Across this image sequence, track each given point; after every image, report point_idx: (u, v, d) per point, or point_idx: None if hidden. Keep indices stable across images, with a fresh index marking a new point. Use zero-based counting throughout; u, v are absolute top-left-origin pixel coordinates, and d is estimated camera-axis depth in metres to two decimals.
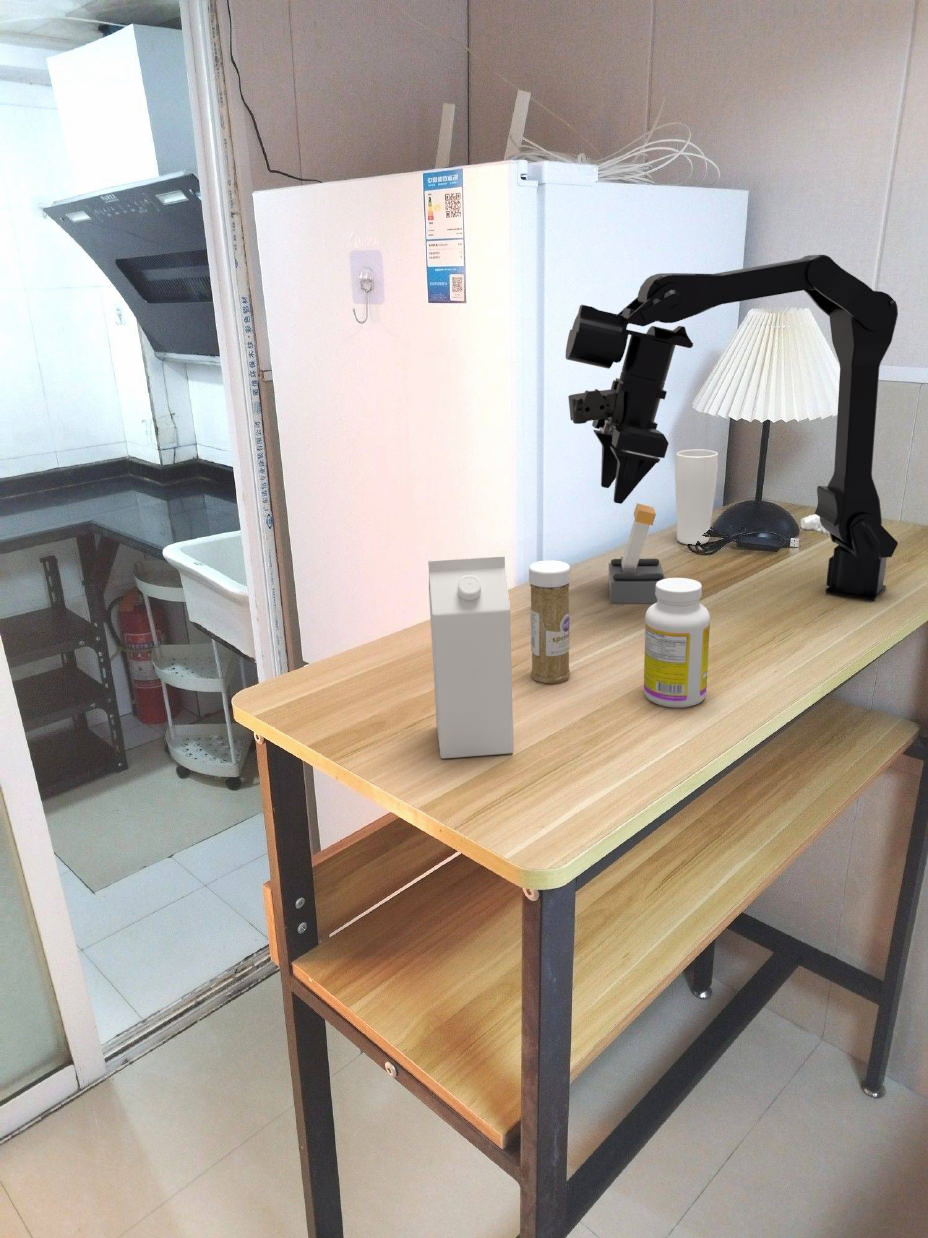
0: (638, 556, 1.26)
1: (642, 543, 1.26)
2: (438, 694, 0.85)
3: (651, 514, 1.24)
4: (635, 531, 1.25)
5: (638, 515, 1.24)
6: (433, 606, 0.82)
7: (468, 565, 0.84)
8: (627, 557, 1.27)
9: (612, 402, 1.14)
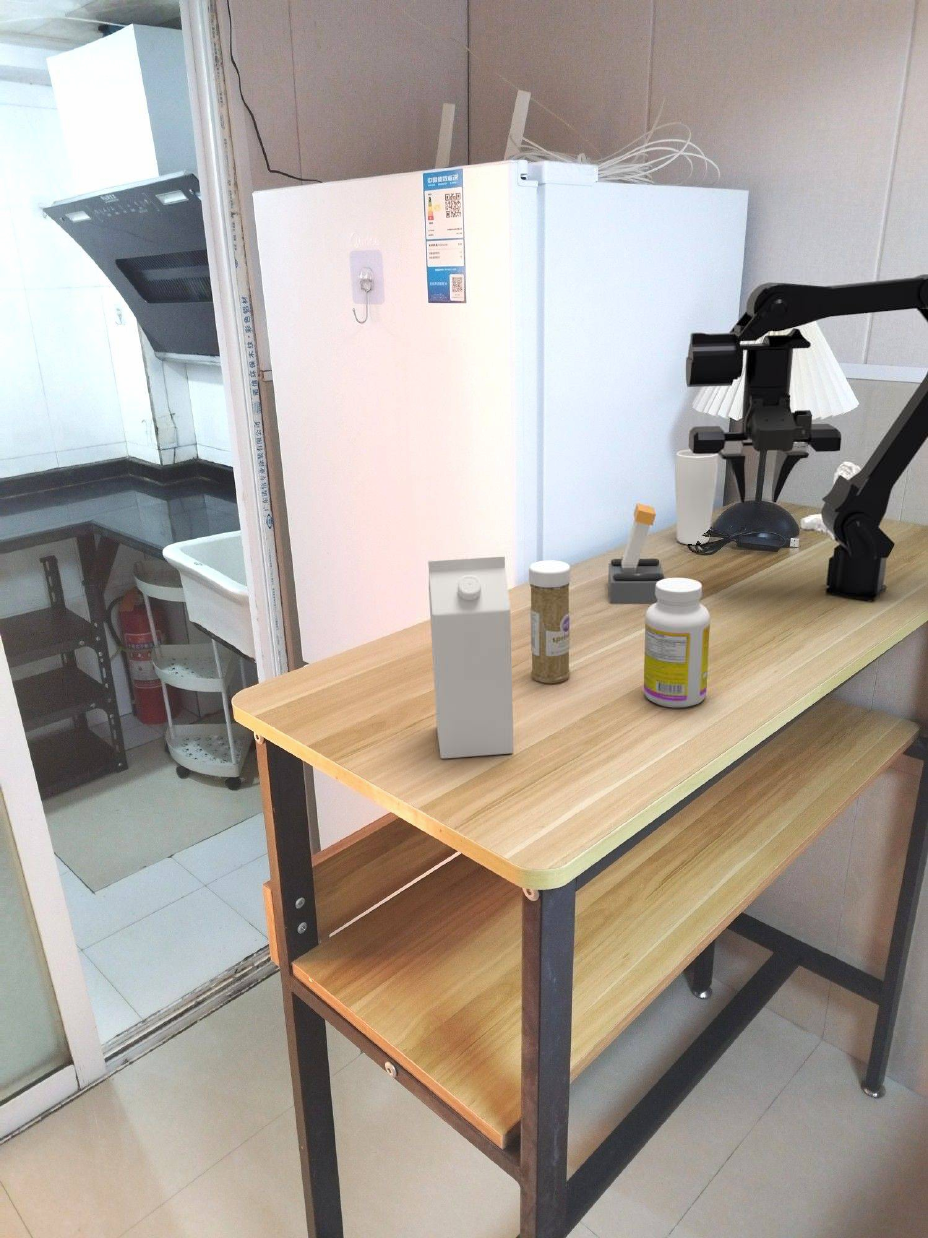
0: (638, 556, 1.26)
1: (642, 543, 1.26)
2: (438, 694, 0.85)
3: (651, 514, 1.24)
4: (635, 531, 1.25)
5: (638, 515, 1.24)
6: (433, 606, 0.82)
7: (468, 565, 0.84)
8: (627, 557, 1.27)
9: None
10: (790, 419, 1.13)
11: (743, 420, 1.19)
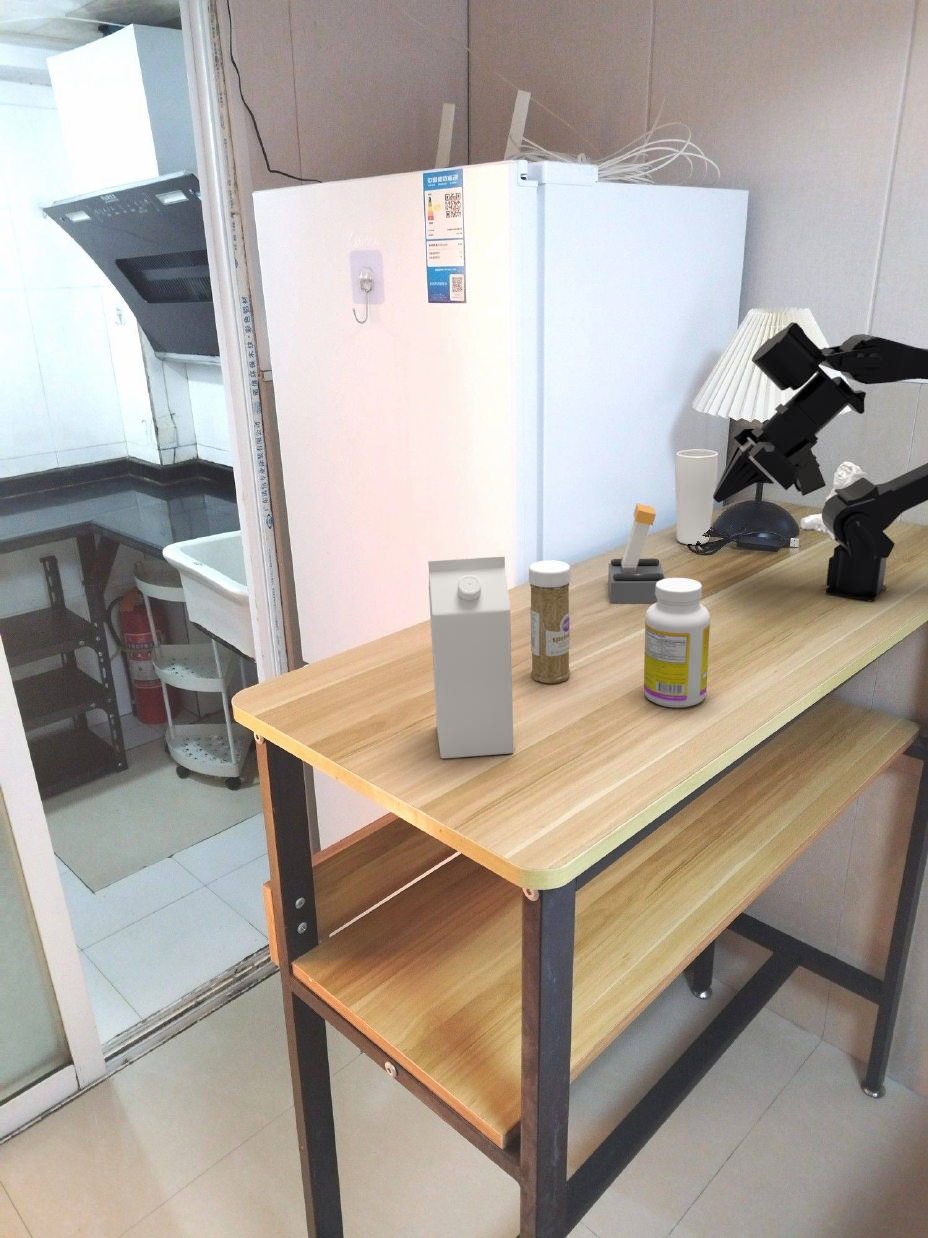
0: (638, 556, 1.26)
1: (642, 543, 1.26)
2: (438, 694, 0.85)
3: (651, 514, 1.24)
4: (635, 531, 1.25)
5: (638, 515, 1.24)
6: (433, 606, 0.82)
7: (468, 565, 0.84)
8: (627, 557, 1.27)
9: None
10: None
11: (786, 446, 1.18)
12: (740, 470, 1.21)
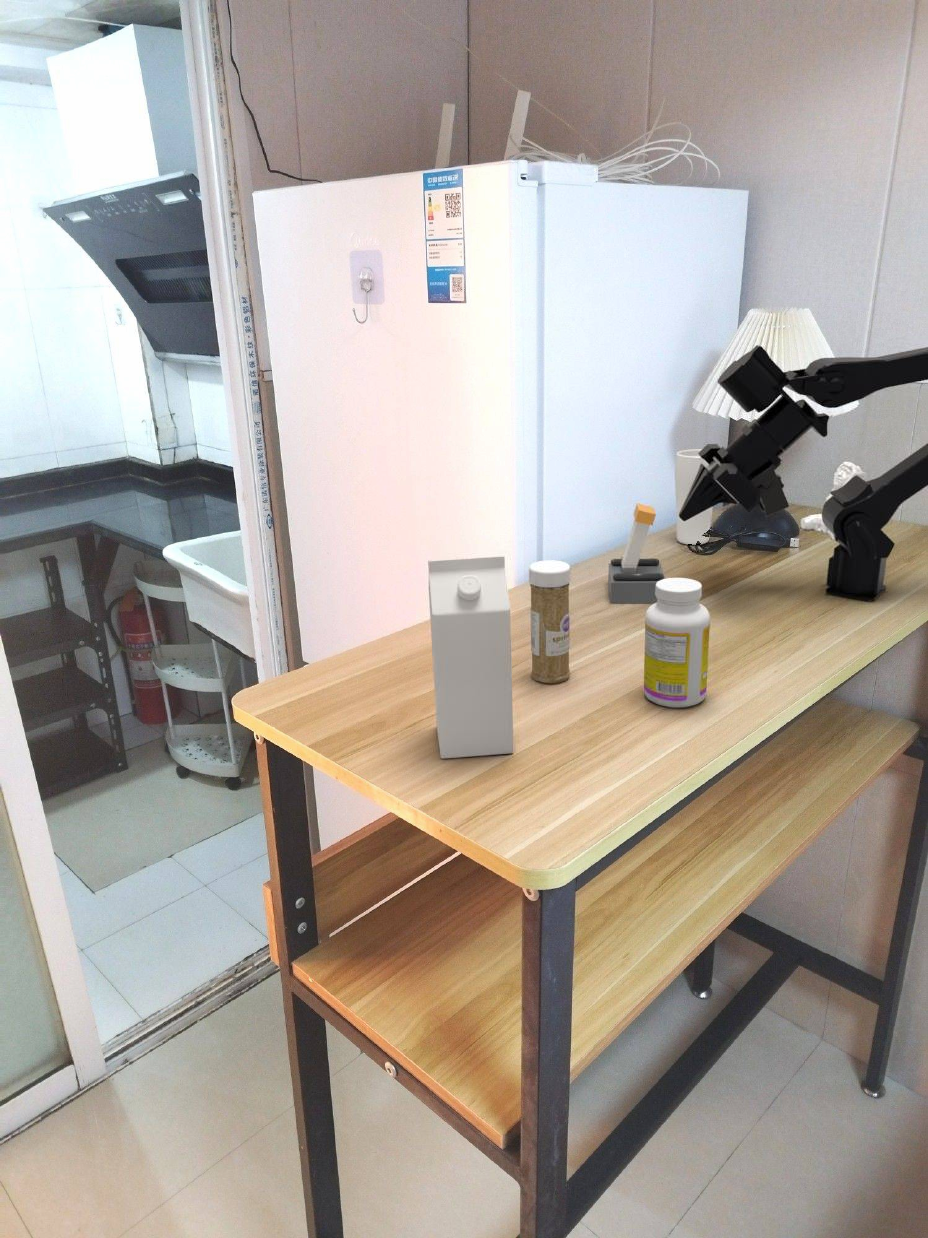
0: (638, 556, 1.26)
1: (642, 543, 1.26)
2: (438, 694, 0.85)
3: (651, 514, 1.24)
4: (635, 531, 1.25)
5: (638, 515, 1.24)
6: (433, 606, 0.82)
7: (468, 565, 0.84)
8: (627, 557, 1.27)
9: None
10: None
11: (750, 467, 1.19)
12: (705, 490, 1.22)
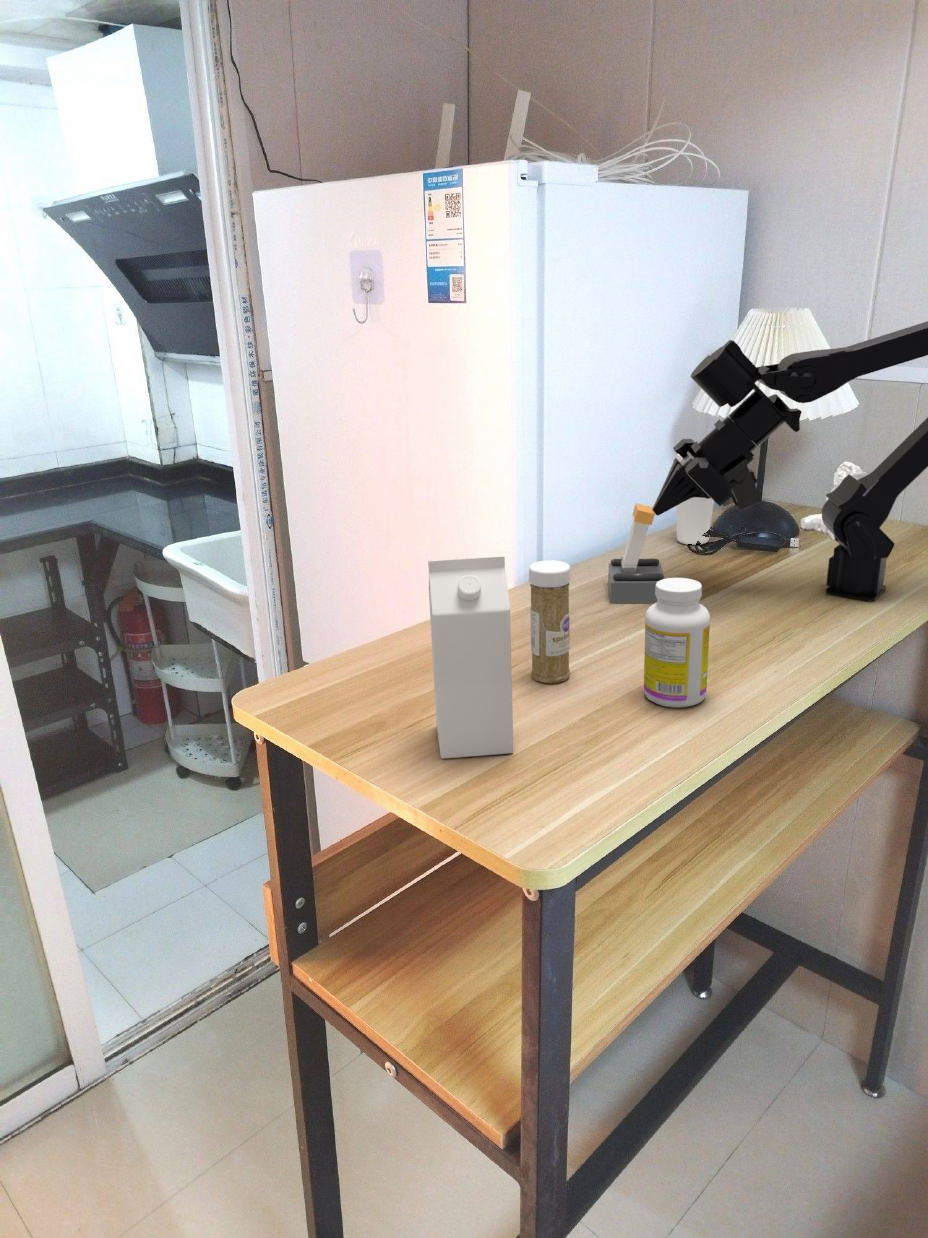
0: (638, 556, 1.26)
1: (642, 543, 1.26)
2: (438, 694, 0.85)
3: (650, 514, 1.24)
4: (634, 531, 1.25)
5: (637, 515, 1.24)
6: (433, 606, 0.82)
7: (468, 565, 0.84)
8: (627, 557, 1.27)
9: None
10: None
11: (722, 462, 1.19)
12: (678, 484, 1.22)
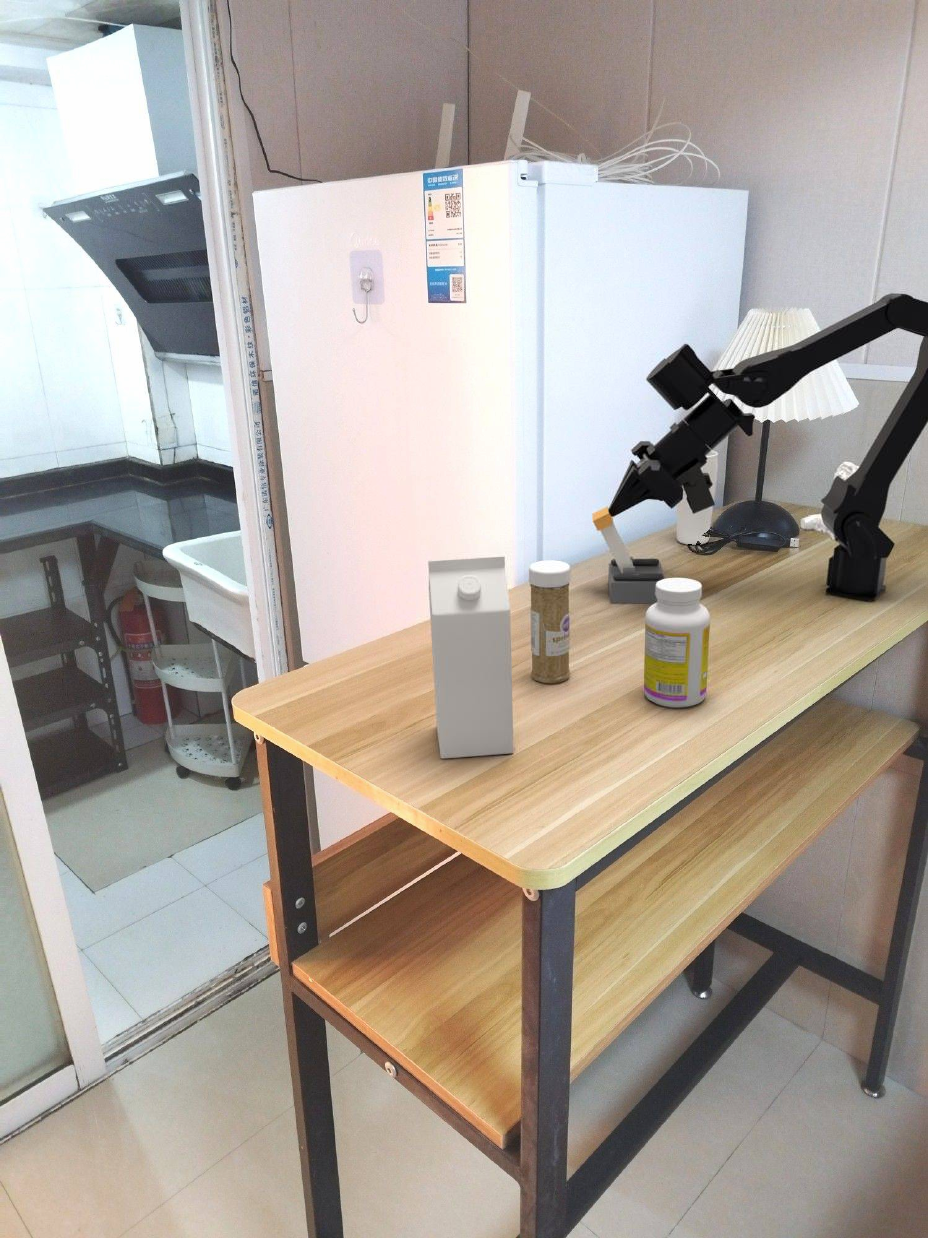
0: (625, 554, 1.27)
1: (619, 542, 1.26)
2: (438, 694, 0.85)
3: (605, 516, 1.25)
4: (605, 538, 1.26)
5: (596, 525, 1.25)
6: (433, 606, 0.82)
7: (468, 565, 0.84)
8: (617, 561, 1.27)
9: None
10: None
11: (676, 465, 1.20)
12: (633, 486, 1.23)
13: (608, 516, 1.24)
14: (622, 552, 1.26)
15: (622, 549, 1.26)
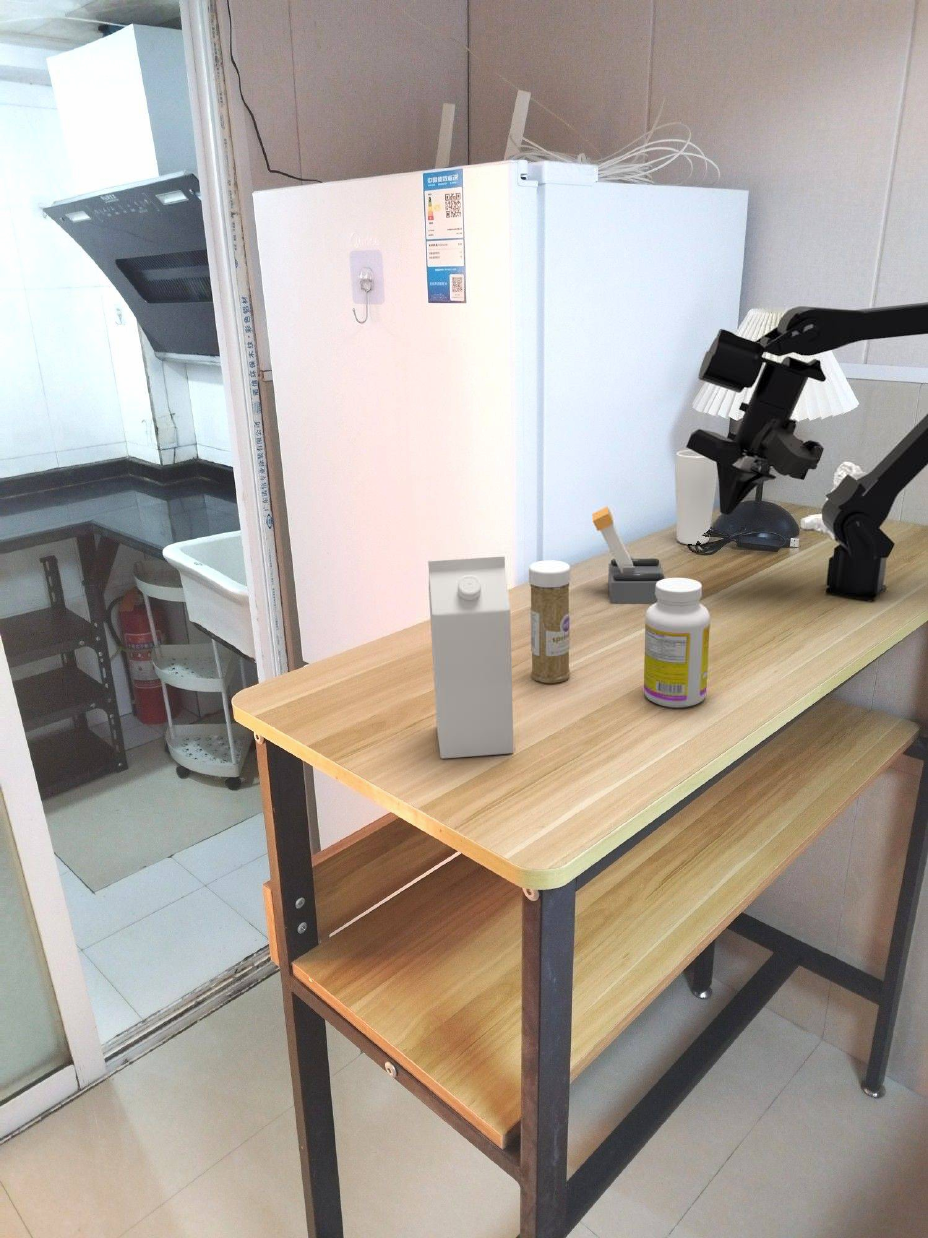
0: (625, 554, 1.27)
1: (619, 542, 1.26)
2: (438, 694, 0.85)
3: (605, 516, 1.25)
4: (605, 538, 1.26)
5: (596, 525, 1.25)
6: (433, 606, 0.82)
7: (468, 565, 0.84)
8: (617, 561, 1.27)
9: None
10: (804, 447, 1.17)
11: (747, 434, 1.19)
12: (726, 475, 1.23)
13: (608, 516, 1.24)
14: (622, 552, 1.26)
15: (622, 549, 1.26)
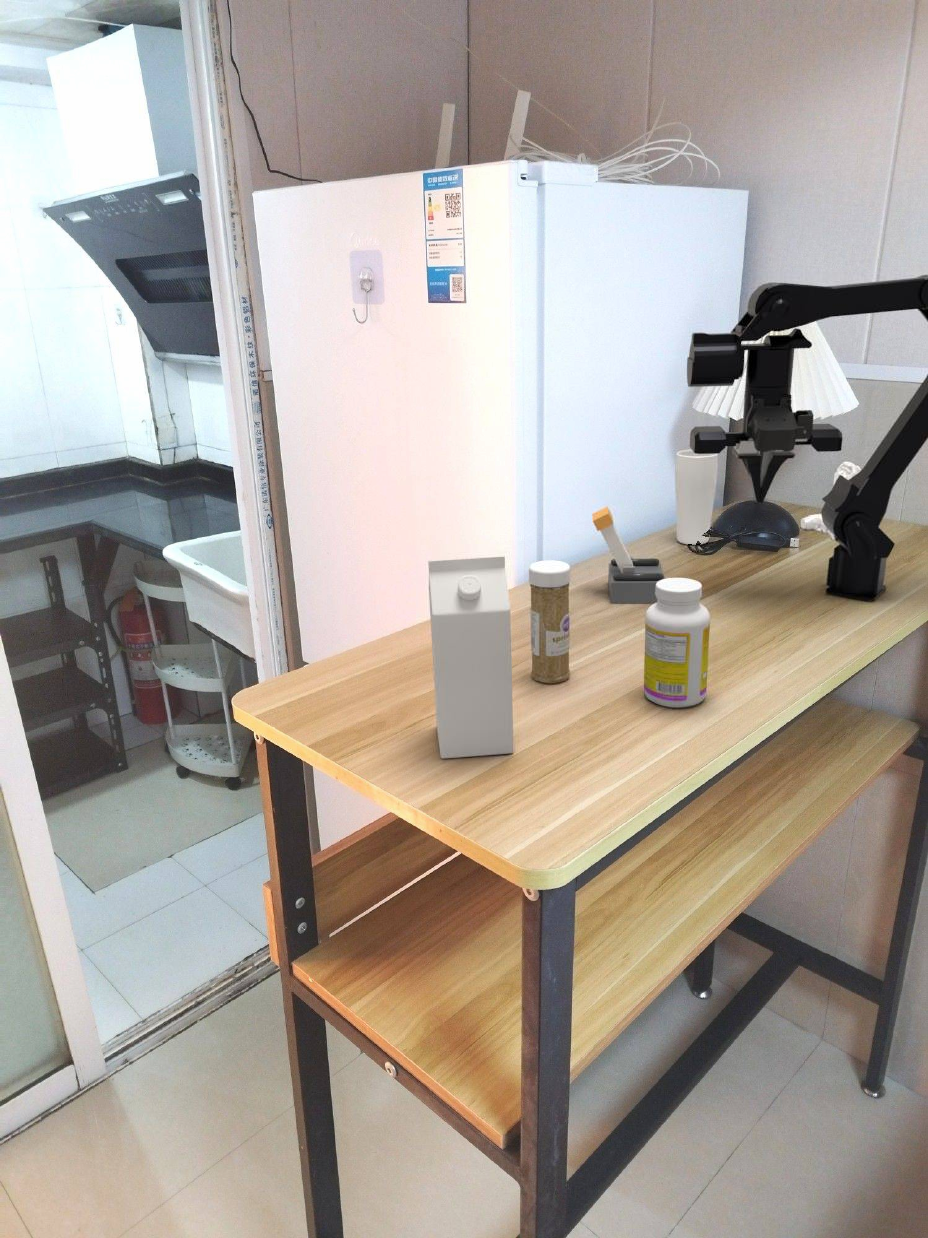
0: (625, 554, 1.27)
1: (619, 542, 1.26)
2: (438, 694, 0.85)
3: (605, 516, 1.25)
4: (605, 538, 1.26)
5: (596, 525, 1.25)
6: (433, 606, 0.82)
7: (468, 565, 0.84)
8: (617, 561, 1.27)
9: None
10: (791, 419, 1.13)
11: (744, 420, 1.19)
12: None
13: (608, 516, 1.24)
14: (622, 552, 1.26)
15: (622, 549, 1.26)
